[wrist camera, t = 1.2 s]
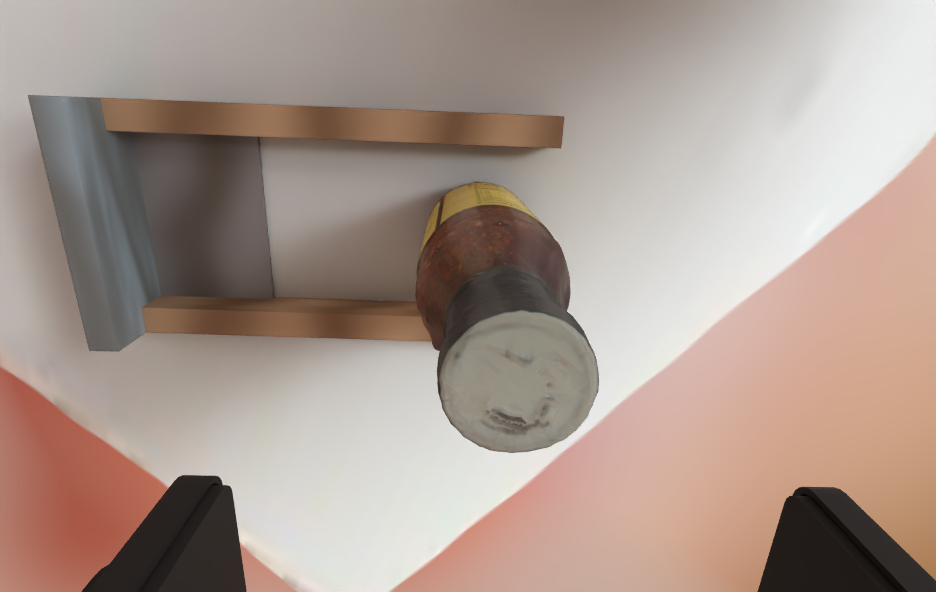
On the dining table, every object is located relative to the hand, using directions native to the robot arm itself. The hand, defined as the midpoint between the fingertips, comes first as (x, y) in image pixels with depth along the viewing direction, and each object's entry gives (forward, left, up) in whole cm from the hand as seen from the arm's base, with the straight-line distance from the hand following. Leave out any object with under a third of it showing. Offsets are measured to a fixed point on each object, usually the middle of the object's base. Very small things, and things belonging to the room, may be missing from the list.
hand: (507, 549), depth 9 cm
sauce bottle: (0, 0, -24) cm, 24 cm away
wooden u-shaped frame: (+8, 0, -24) cm, 25 cm away
